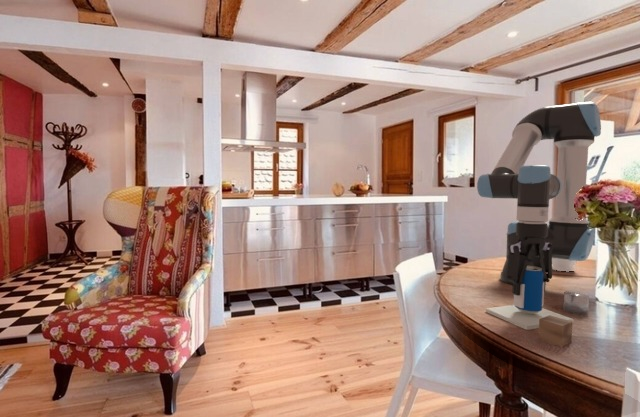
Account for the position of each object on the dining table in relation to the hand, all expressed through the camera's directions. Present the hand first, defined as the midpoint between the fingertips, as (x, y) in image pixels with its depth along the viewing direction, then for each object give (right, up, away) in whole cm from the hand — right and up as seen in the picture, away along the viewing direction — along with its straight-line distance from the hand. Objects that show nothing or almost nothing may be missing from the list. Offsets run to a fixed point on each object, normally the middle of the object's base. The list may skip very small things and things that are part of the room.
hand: (528, 305), depth 103 cm
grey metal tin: (+17, -3, +6) cm, 18 cm away
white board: (0, -3, 0) cm, 3 cm away
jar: (+47, 0, +58) cm, 75 cm away
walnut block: (-2, -5, -15) cm, 16 cm away
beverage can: (0, -2, 0) cm, 2 cm away
